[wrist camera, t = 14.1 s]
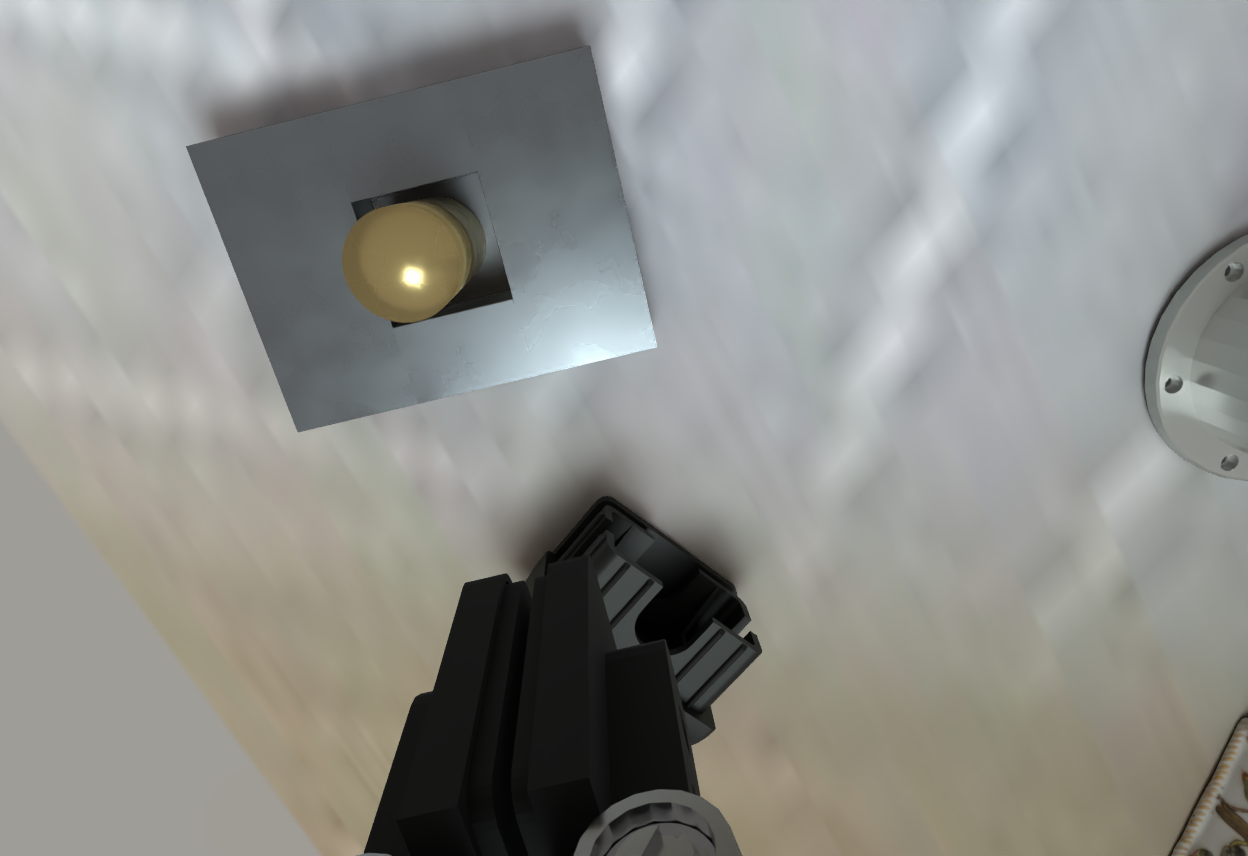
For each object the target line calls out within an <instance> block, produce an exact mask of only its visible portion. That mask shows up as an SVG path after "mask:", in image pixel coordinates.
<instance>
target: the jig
mask: <svg viewBox="0 0 1248 856" xmlns="http://www.w3.org/2000/svg"><path fill="white" fill-rule="evenodd" d="M186 148H187V150H188V153H189V155H190V158H191V160H192V163H193V165H194V168H195V171H196V173H197V176H198V178H199V181H200V183H201V186H202V189H203V191H204V194H205V196H206V199H207V201H208V204H209V206H210V209H211V212H212V214H213V217H214V219H215V222H216V224H217V227H218V229H219V232H220V235H221V237H222V240H223V242H224V245H225V247H226V250H227V252H228V255H229V258H230V260H231V263H232V265H233V268H234V270H235V273H236V275H237V278H238V281H239V283H240V286H241V288H242V291H243V293H244V296H245V298H246V301H247V304H248V306H249V309H250V311H251V314H252V316H253V319H254V322H255V324H256V327H257V329H258V332H259V334H260V337H261V339H262V342H263V345H264V347H265V350H266V352H267V355H268V357H269V360H270V362H271V365H272V368H273V370H274V373H275V375H276V378H277V380H278V383H279V385H280V388H281V391H282V393H283V396H284V398H285V401H286V403H287V406H288V408H289V411H290V414H291V416H292V419H293V421H294V424H295V426H296V429H297V431H298V432H302V431H306V430H310V429H314V428H318V427H323V426H327V425H331V424H335V423H339V422H344V421H348V420H352V419H356V418H361V417H365V416H369V415H373V414H377V413H382V412H386V411H390V410H394V409H398V408H403V407H407V406H411V405H415V404H420V403H424V402H428V401H432V400H436V399H441V398H445V397H449V396H453V395H457V394H462V393H466V392H470V391H474V390H479V389H483V388H487V387H491V386H495V385H500V384H504V383H508V382H512V381H516V380H521V379H525V378H529V377H533V376H538V375H542V374H546V373H550V372H554V371H559V370H563V369H567V368H571V367H575V366H580V365H584V364H588V363H592V362H596V361H601V360H605V359H609V358H613V357H618V356H622V355H626V354H630V353H634V352H639V351H643V350H647V349H651V348H655V347H657V344H656V340H655V335H654V331H653V326H652V322H651V317H650V313H649V308H648V304H647V299H646V295H645V290H644V286H643V281H642V277H641V272H640V268H639V263H638V259H637V254H636V250H635V246H634V241H633V237H632V232H631V228H630V223H629V219H628V214H627V210H626V205H625V201H624V196H623V192H622V187H621V183H620V178H619V174H618V169H617V165H616V160H615V156H614V151H613V147H612V142H611V138H610V133H609V129H608V124H607V120H606V115H605V111H604V106H603V102H602V97H601V93H600V88H599V84H598V79H597V75H596V70H595V66H594V61H593V57H592V52H591V48H590V46H586V47H582V48H578V49H574V50H570V51H566V52H562V53H558V54H554V55H550V56H546V57H542V58H538V59H534V60H530V61H526V62H522V63H518V64H514V65H510V66H506V67H502V68H498V69H494V70H490V71H486V72H482V73H478V74H474V75H470V76H466V77H462V78H458V79H454V80H450V81H446V82H442V83H438V84H434V85H430V86H426V87H422V88H418V89H414V90H410V91H406V92H402V93H398V94H394V95H390V96H386V97H382V98H378V99H374V100H370V101H366V102H362V103H358V104H354V105H350V106H346V107H342V108H338V109H334V110H330V111H326V112H322V113H318V114H314V115H310V116H306V117H302V118H298V119H294V120H290V121H286V122H282V123H278V124H274V125H270V126H266V127H262V128H258V129H254V130H250V131H246V132H242V133H238V134H234V135H230V136H226V137H222V138H218V139H214V140H210V141H206V142H202V143H198V144H194V145H190V146H186ZM474 173H478V174H479V178H480V182H481V185H482V189H483V192H484V196H485V200H486V203H487V207H488V210H489V214H490V217H491V221H492V225H493V228H494V232H495V235H496V239H497V243H498V246H499V250H500V253H501V257H502V261H503V264H504V268H505V271H506V275H507V278H508V282H509V286H510V289H511V290H510V291H506V292H501V293H497V294H493V295H489V296H485V297H481V298H476V299H472V300H468V301H464V302H460V303H456V304H452V305H447V306H445V307H444V308H442V309H441V310H440V311H439V312H438V313H436V314H434V315H433V316H431V317H429V318H427V319H424V320H421V321H417V322H409V323H402V322H394V321H390V320H386V319H384V318H381V317H379V316H377V315H375V314H373V313H372V312H370V311H369V310H367V309H366V308H365V307H364V306H363V305H362V304H361V303H360V302H359V301H358V300H357V299H356V298H355V296H354V295H353V293H352V292H351V290H350V288H349V286H348V284H347V282H346V279H345V276H344V272H343V266H342V253H343V247H344V243H345V240H346V238H347V235H348V233H349V232H350V230H351V228H352V227H353V226H354V225H355V223H356V222H357V221H358V220H359V219H360V218H362V217H363V216H364V215H366V214H367V213H369V212H371V211H373V210H374V209H373V206H372V203H371V199H372V198H376V197H380V196H384V195H389V194H393V193H397V192H401V191H405V190H409V189H413V188H417V187H421V186H425V185H429V184H433V183H437V182H441V181H445V180H449V179H454V178H458V177H462V176H466V175H470V174H474Z"/></svg>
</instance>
